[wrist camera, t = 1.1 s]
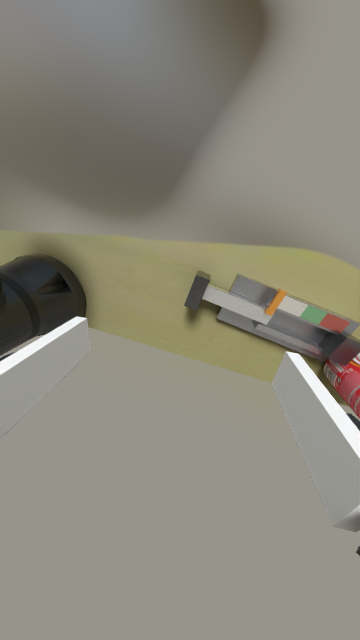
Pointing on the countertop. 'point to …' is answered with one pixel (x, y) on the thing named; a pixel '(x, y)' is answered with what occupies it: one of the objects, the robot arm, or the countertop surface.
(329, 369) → the soda can
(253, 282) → the gauge body
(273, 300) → the plunger
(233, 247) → the countertop surface
